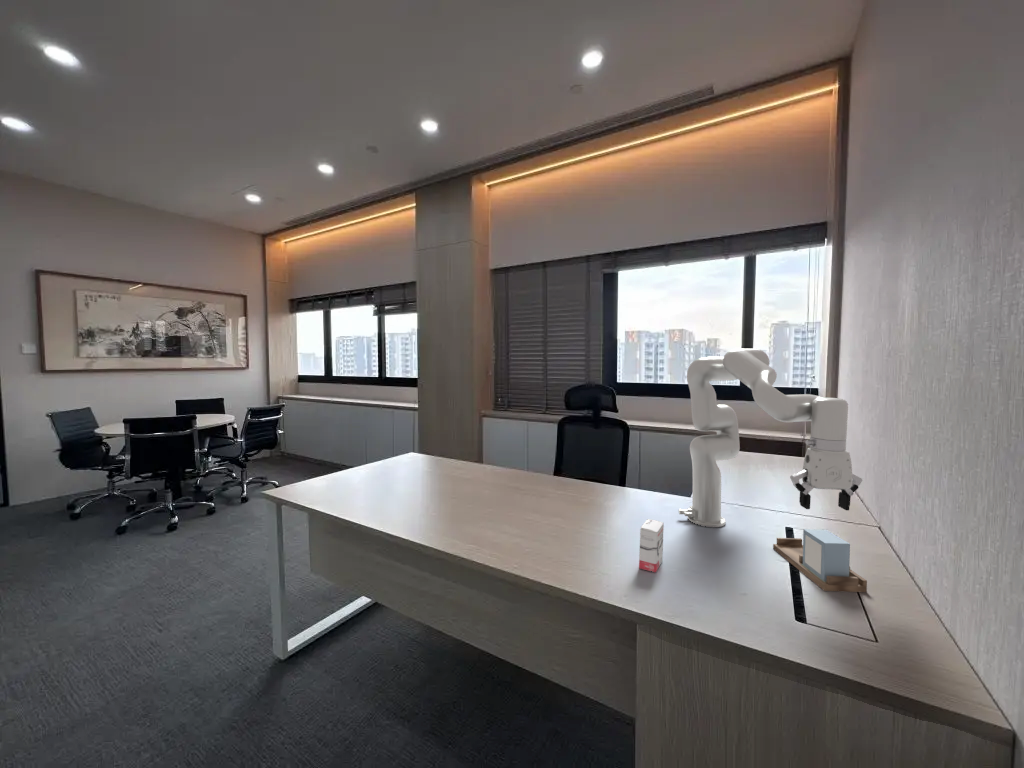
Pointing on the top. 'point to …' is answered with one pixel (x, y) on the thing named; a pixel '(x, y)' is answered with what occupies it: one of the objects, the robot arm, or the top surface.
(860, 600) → the top surface
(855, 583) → the brown wooden shallow tray
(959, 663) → the top surface
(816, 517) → the top surface
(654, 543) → the ink box
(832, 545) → the blue-grey rectangular block
